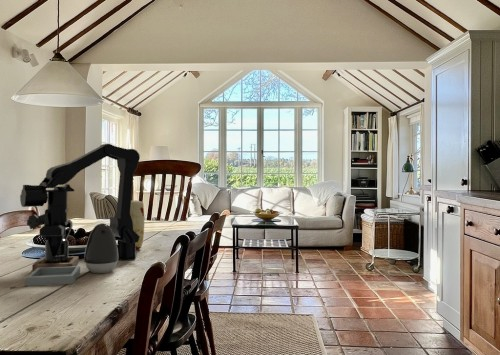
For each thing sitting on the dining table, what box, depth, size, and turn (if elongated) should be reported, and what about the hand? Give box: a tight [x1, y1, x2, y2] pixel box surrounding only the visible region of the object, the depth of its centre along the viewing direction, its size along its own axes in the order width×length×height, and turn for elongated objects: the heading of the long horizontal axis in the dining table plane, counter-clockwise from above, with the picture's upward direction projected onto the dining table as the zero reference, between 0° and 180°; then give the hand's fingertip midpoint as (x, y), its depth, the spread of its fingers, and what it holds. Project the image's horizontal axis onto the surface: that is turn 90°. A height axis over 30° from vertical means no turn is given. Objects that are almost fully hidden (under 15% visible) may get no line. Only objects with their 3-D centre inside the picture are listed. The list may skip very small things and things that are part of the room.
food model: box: [130, 199, 145, 251], centre depth 166 cm, size 10×7×20 cm
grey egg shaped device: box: [83, 222, 120, 274], centre depth 129 cm, size 10×10×15 cm
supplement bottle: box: [44, 231, 70, 264], centre depth 133 cm, size 7×7×12 cm
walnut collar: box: [31, 255, 80, 273], centre depth 133 cm, size 11×11×2 cm
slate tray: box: [25, 265, 81, 287], centre depth 119 cm, size 12×12×2 cm
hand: (56, 253), depth 133 cm, fingers closed on supplement bottle, 7 cm apart
